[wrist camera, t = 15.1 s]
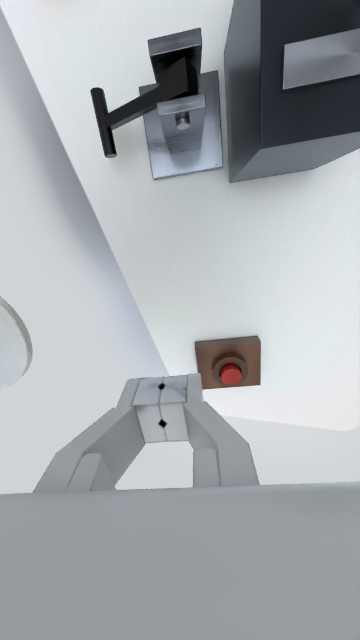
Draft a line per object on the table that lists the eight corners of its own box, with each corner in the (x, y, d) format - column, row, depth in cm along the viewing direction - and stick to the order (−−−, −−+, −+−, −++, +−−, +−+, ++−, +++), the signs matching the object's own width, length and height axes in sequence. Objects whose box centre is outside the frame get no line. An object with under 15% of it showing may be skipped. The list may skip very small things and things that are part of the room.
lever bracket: (154, 180, 33) (134, 155, 21) (140, 92, 29) (106, 3, 17) (221, 168, 32) (239, 135, 20) (216, 76, 28) (234, -30, 17)
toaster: (229, 183, 33) (261, 147, 18) (223, 53, 27) (263, -157, 12) (314, 169, 32) (425, 118, 17) (325, 30, 26) (506, -232, 11)
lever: (113, 159, 28) (99, 156, 26) (100, 97, 26) (83, 89, 24) (201, 125, 22) (190, 117, 20) (194, 41, 20) (181, 23, 18)
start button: (221, 380, 42) (222, 386, 41) (219, 364, 41) (220, 370, 39) (240, 378, 42) (242, 384, 40) (239, 362, 41) (241, 368, 39)
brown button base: (200, 382, 47) (200, 395, 44) (195, 341, 44) (195, 352, 40) (257, 378, 46) (263, 391, 43) (257, 335, 42) (263, 346, 39)
